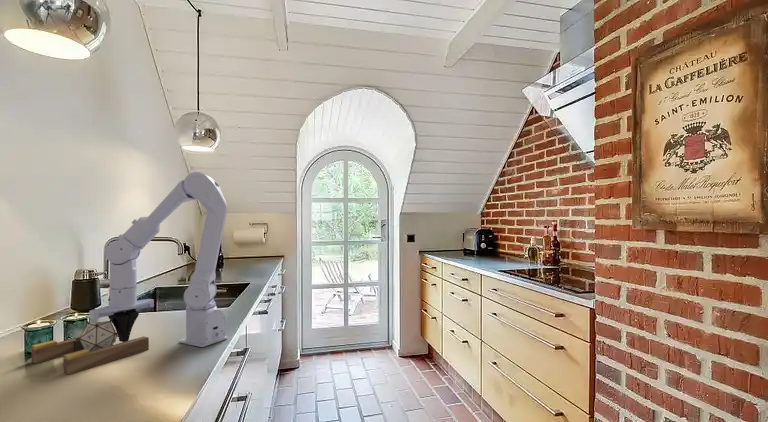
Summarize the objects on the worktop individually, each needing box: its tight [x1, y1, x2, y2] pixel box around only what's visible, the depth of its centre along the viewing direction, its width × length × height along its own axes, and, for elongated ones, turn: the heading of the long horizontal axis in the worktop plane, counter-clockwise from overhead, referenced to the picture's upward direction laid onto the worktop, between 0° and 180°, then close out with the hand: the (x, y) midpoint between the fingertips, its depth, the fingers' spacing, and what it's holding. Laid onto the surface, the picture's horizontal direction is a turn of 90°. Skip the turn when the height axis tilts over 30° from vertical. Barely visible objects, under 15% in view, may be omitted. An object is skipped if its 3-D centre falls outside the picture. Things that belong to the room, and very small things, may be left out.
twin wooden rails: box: [31, 329, 150, 375], centre depth 94 cm, size 16×17×4 cm
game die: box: [74, 318, 121, 351], centre depth 96 cm, size 9×8×10 cm
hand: (123, 340), depth 101 cm, fingers closed
